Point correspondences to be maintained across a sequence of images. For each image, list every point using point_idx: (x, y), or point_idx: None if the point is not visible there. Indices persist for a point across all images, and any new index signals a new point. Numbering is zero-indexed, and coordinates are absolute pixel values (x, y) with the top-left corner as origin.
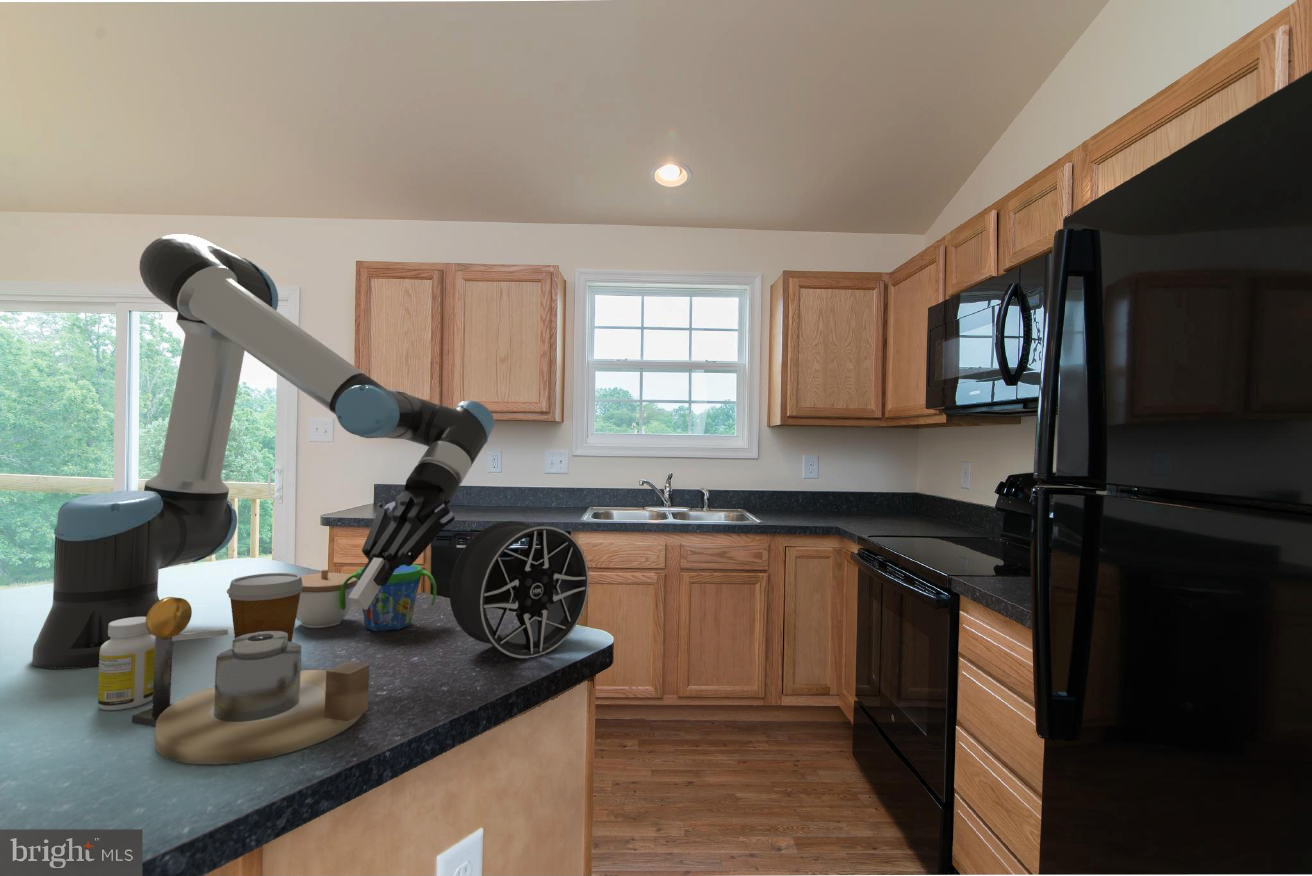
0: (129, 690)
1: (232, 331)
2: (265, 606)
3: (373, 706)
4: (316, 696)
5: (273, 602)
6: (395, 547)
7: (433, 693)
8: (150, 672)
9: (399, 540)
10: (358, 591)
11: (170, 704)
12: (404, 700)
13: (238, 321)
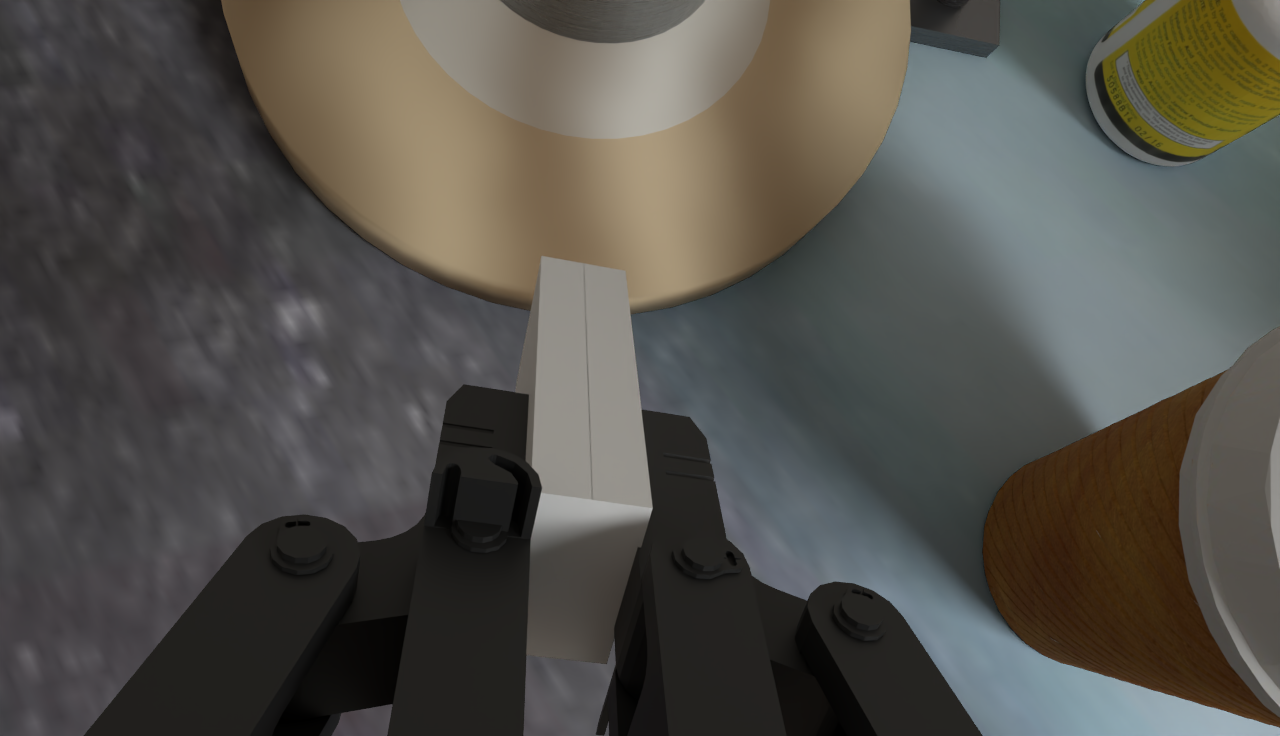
0: (1134, 12)
1: None
2: (1201, 393)
3: (253, 171)
4: (435, 15)
5: (1192, 415)
6: (447, 624)
7: (31, 345)
8: (1157, 42)
9: (443, 728)
10: (570, 289)
11: (970, 32)
12: (142, 248)
13: None
